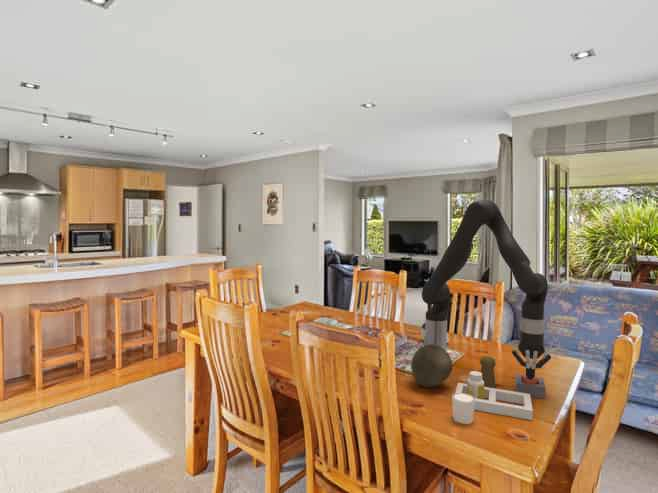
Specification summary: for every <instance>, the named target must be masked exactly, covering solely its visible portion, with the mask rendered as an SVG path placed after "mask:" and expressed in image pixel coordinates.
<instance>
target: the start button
mask: <svg viewBox="0 0 658 493" xmlns="http://www.w3.org/2000/svg"><path fill="white" fill-rule="evenodd" d="M535 377H536V376H535ZM535 377H534V378H533V379H528V377H526V376H523V382H526V383H533V384H537V378H535Z"/></svg>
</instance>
